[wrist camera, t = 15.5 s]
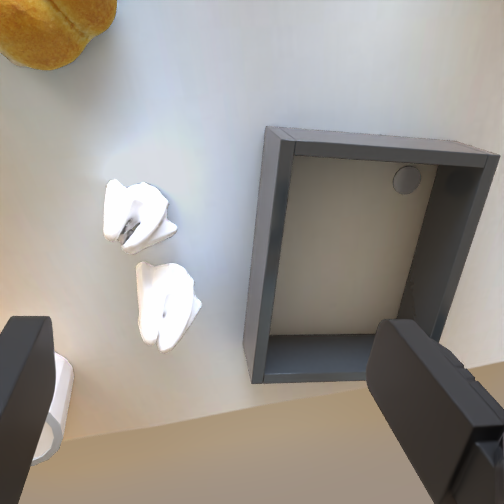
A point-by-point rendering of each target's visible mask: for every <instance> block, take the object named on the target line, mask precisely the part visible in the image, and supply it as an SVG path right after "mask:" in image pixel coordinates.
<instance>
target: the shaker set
mask: <svg viewBox="0 0 504 504" xmlns="http://www.w3.org/2000/svg"><path fill="white" fill-rule="evenodd" d="M159 191H160V190H159V189H156V188H155V187H154V186H153V187H152V186H151V185H149V184H147V183H145V182H142V183H141V184H139V185H138V184H137V185H136V184H135V185H132V186H130V187H128V188H126V187H124V186H123V185H122V184H121V183H119V181H118V180H116V179H114V180H110V181H109V182H108V184H107V185H106V195H105V204H104V230H103V234H104V236H105V238H106V239H107V240H109V241H110V242H114V241H115V240H118V241H119V242H120V243H121V248H122V250H123V251H124V252H126V253H128V254H136V253H137V252H139V251H140V250H142V249H145V248H147V247H149V246H152V245H154V244H157V243H159V242H161V241H163V240H165V239H168V238H170V237H172V236H173V235H174V234H175V233H176V231H177V226H176V225H174V224H172V222H170V221H169V220H168V219H167V208H168V205H169V202H168V200H167V199H166V198H165V197H164V196H163V195H162V194H161V193H160V192H159ZM165 202H166V203H165ZM129 219H132V221H131V222H130V223H128V222H127V221H128V220H129ZM138 222H140V225H139V226H138V227H137V228H136V229H135V231H134V230H132V229H131V228H133V227H134V226H135V225H136V224H137V223H138ZM126 223H127V226H126ZM136 274H137V292H138V304H139V317H138V326H139V330H140V333H141V336H142V339H143V340H144V342H145V343H146V344H148V345H150V346H152V345H153V344H155V342H156V343H157V347H158V349H159V351H160V352H161V353H164V354H166V353H168V352H170V351H171V350H172V349H173V348H174V347H175V346H176V345H177V343H178V342H179V341H180V340H181V339H182V337H183V335H184V334H185V333H186V331H187V330H188V328H189V327H190V325H191V324H192V322H193V320H194V319H195V317H196V316H197V314H198V312H199V310H200V309H201V307H202V302H201V301H200V300H199V299H198V298H197V297H196V296H195V293H194V283H195V282H194V280H193V279H192V278H191V276H189V274H188V272H187V270H186V269H185V268H183V267H182V266H180V265H178V264H174V263H168V264H163V265H159V266H153V265H150V264H149V263H147V262H145V261H144V262H140V263H139V264H138V265H137V266H136Z"/></svg>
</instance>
